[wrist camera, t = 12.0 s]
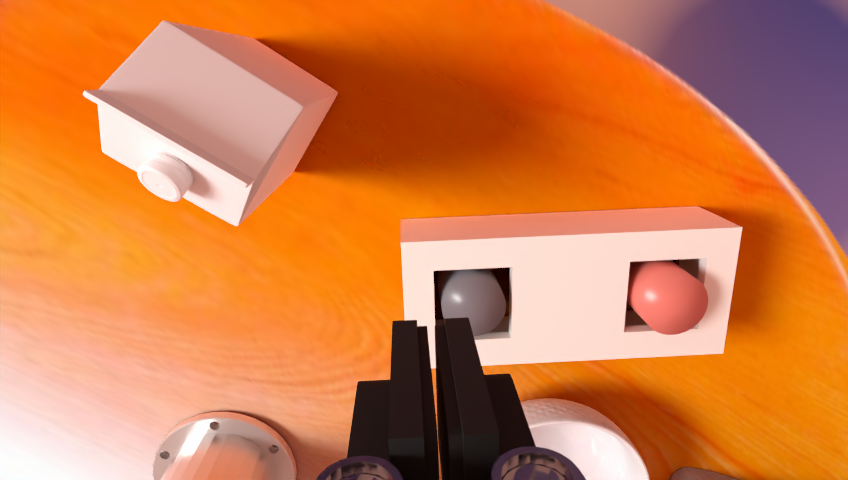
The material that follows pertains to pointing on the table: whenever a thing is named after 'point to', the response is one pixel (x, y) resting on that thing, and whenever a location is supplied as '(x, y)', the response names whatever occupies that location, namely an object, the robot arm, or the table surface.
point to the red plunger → (666, 296)
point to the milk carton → (209, 117)
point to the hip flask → (698, 475)
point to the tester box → (574, 279)
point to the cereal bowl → (584, 439)
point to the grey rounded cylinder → (472, 298)
